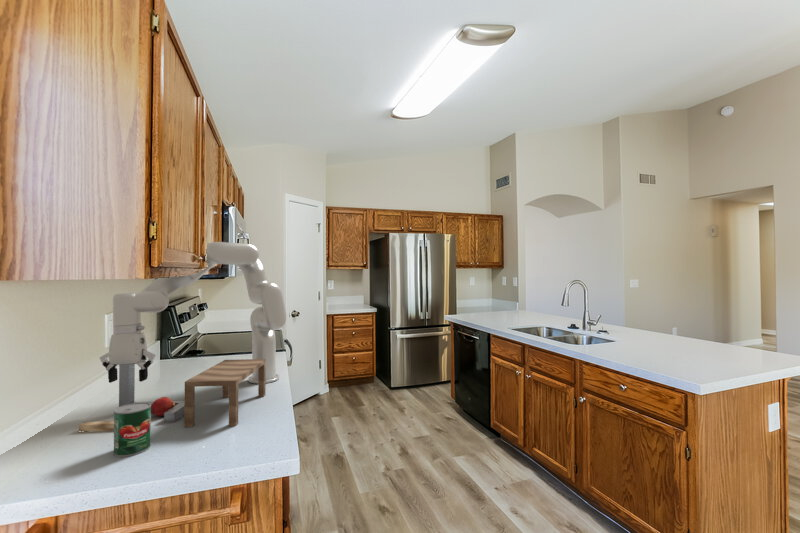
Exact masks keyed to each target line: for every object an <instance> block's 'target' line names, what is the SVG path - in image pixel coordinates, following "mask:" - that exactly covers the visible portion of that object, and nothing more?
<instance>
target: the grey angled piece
mask: <svg viewBox="0 0 800 533" xmlns="http://www.w3.org/2000/svg"><path fill="white" fill-rule="evenodd" d="M135 366H136V364H119V367H118V368H119V371H118V374H119V375H118V407H120V406H123V405H127V404H132V403H140V402H141V401H135V386H136V385H135V384H136V383H135V381H136V380H135V378H136V375H135V374H136V373H135V372H136V371H135V370H136V368H135ZM172 401H173V402H174V403H175V405H174V407H172V408H171V409H169V410H168V411H166V412H165V413H164V416H163V423H165V424H167V423H170V424H171V423H175V422H177V421H178V420H179V419H181V418H182V417H184V411H185V400H172ZM145 402H146V403H150V404H151V405H152V404H153V402H154V401H145ZM151 413H152V412H151ZM152 414H153V413H152Z"/></svg>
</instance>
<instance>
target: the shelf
mask: <svg viewBox="0 0 800 533" xmlns="http://www.w3.org/2000/svg"><path fill="white" fill-rule="evenodd" d="M257 369H258V385H257V386H258V389H257V391H258V392H257V393H258V394H257V396H258V397H260V398H264V397H265V396H266V384H267V383H266V359H251V358H250V359H248V358H247V359H245V358H244V359H224V360H221V361H220V362H218V363H216V364H215V365H213V366H211V367H209V368H207V369H206V370H204V371H202V372H200V373H198V374H196V375H194V376H192V377H191V378H189V379H187V380H185V381H184V401H185V411H184V416H183V417H184V419H183V420H184V421H183V422H184V426H183V427H184V428H192V427H193V426H195V424H196V423H195V418H196V416H195V415H196V411H195V409H196V405H195V404H196V403H195V402H196V401H195V400H196V396H195V395H196V390H195V389H196V388H197V387H222V398H223V399H224V398H225V399H226V398H228V427H237V426H238V424H239V384H240V383H242V382H243V381H244V380H245V379H248V378H249V377H250V376H252V373H253V372H254V371H256V370H257ZM195 387H196V388H195Z"/></svg>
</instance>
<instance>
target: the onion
mask: <svg viewBox="0 0 800 533" xmlns="http://www.w3.org/2000/svg"><path fill="white" fill-rule="evenodd" d="M173 401H174V400H172V399H171V398H170V397H168V396H161V397H159V398H157V399H155V400H154V401H152V402H153V404H152V405H151V412H152V414H153V415H155V416H156V417H164V413H165V412H166V411H168V410H169V409H171V408H172V407H174V405H175V403H174V402H173Z"/></svg>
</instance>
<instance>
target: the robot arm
mask: <svg viewBox="0 0 800 533" xmlns="http://www.w3.org/2000/svg"><path fill="white" fill-rule="evenodd" d="M207 243H208V244H207V249H206V254H207V264H208V268H206V269H204V270H202V271H200V272H199V273H197V274H191V275H188V276H181V277H169V278H159V277H158V278H156V279H155V280H154V281H152V282H150V284H148V285H147V286H146V287H144V288H143V289H141V291H140V292H139V293H138V292H119V293H115V294H114V295H113V297H112V324H113V325H112V328H113V330H112V332H113V334H111V336H110V340H109V346H108V347H109V348H108V352H107V353H105V354H103V355H102V356H101V355H100V356H99V359H100V362H101V363H102V366H103V367H105V369H106V371H108V372H107V374H108V375H107V377H108V378H107V379H108V383H111V384H112V383H114V382H116V381H118V380H119V376H118V368H117V367H118V365H119V364H135V365H137V366H138V368H139V370H138V381H139V382H141V383H142V382H144V381H146V380H147V379H148V375H149V373H148V369H149V368H150V366H151V365H152V364H153V363H154V360H155V358H156V354H154V353H153V352H150V351H148V346H147V339H146V336H145V332H142V331H144V330H145V328H146V327H145V325H142V313H147V314H148V313H149V314H151V313H153V314H156V313H161V312H163V311H164V310H166V309H167V308H168V306H169V303H170V298H169V296H170V295H172V294H173V293H175V292H177V291H178V290H180V289H184V288H185V287H189V286H190V285H193V284H194V283H196V282H198V280H199V279H200V278H202V277H203V276H204V275H205V274H206V273H207V272H208V271H210V270H211V269H213V267H214V266H215V265H234V266H236V267H238V268H239V269H240V270H241V272H242V273H243V276H244V279H245V284H246V289H247V294H248V298H249V300H250V302H251V303H253V304H256V305H261V306H258V307H256V308H254V310H253V311H251V314H250V318H249V321H250V328H251V336H252V338H251V339H252V341H251V342H252V343H251V344H252V345H251V346H252V349H251V351H252V352H251V353H252V354H251V355H252V356H251V358H252V359H266V384H269V383H272V382H276V381H278V380H279V379H280V375H279V374H278V373H277V372H276V370H277V369H276V368H277V367H276V365H277V364H276V363H277V362H276V361H277V360H276V358H277V357H276V356H277V355H276V354H277V353H276V352H277V351H276V347H277V346H276V344H277V343H276V341H277V340H276V338H277V337H276V333H275V332H276V331H278V330H281V329H282V328H283V327H284V326H285V324H286V322H287V311H286V307H285V302H284V297H283V296H284V295H283V293H282V289H281V288H280V286H279V285H278V284H276V283H274V282H271V281H269V280H268V279H267V278H268V276H267V274H266V271H265V267H264V265H263V263H262V262H261V260H260V258H259V257H260V252H259V250H258V248H257V247H256V246H255V245H253V244H250V243H244V242H242V243H241V242H237V243H236V242H225V241H212V242H207ZM247 380H248V382H249V383H251V384H258V369H257V370H256V371H254V372H253V373H252V374H251V375H250V376H248V377H247Z"/></svg>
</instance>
